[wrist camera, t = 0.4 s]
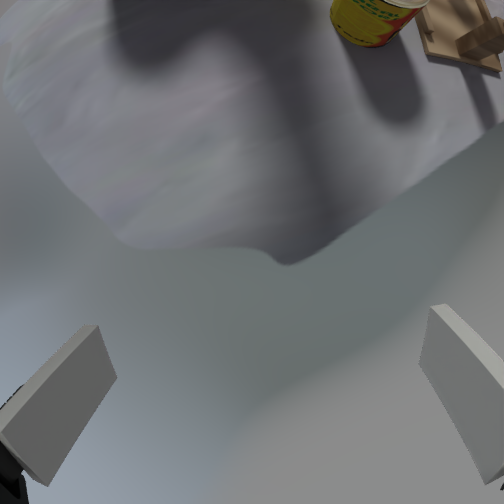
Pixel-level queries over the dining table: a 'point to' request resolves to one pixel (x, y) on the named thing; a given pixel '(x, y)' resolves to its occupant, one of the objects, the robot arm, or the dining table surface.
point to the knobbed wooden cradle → (462, 32)
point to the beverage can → (373, 19)
